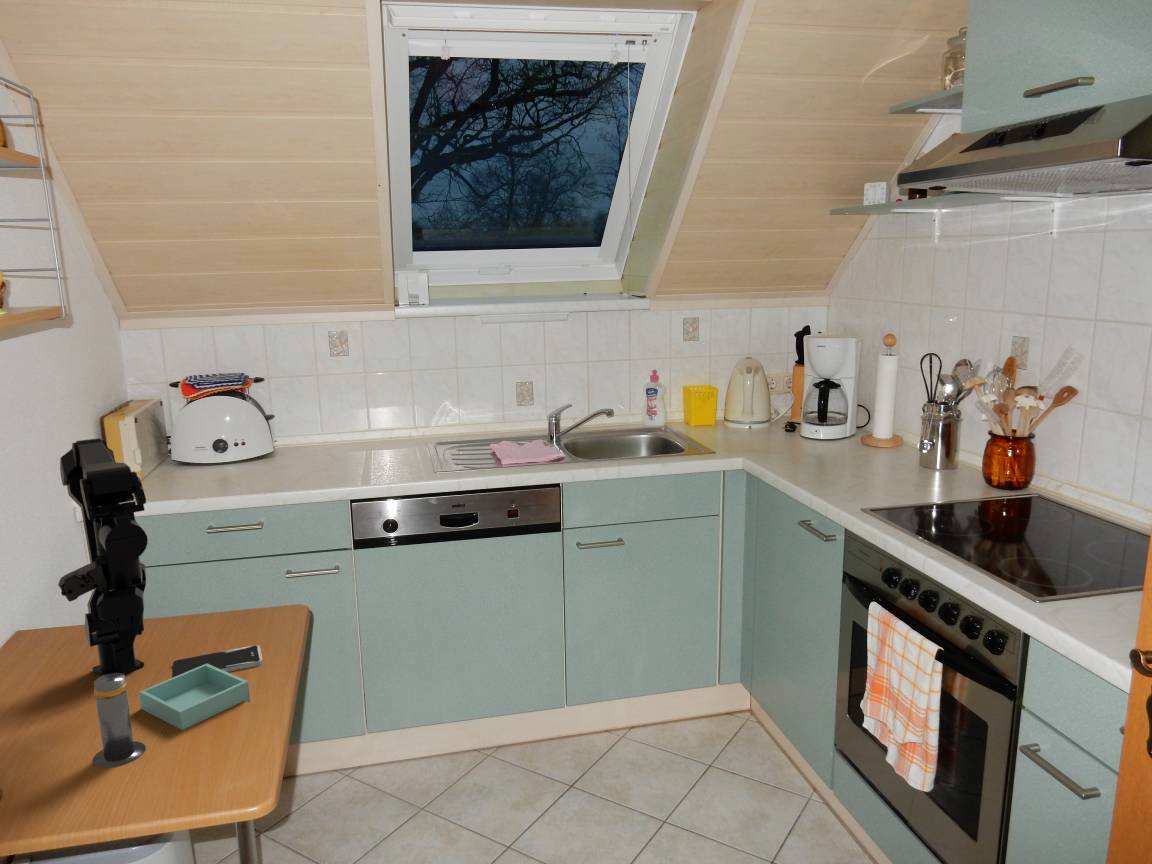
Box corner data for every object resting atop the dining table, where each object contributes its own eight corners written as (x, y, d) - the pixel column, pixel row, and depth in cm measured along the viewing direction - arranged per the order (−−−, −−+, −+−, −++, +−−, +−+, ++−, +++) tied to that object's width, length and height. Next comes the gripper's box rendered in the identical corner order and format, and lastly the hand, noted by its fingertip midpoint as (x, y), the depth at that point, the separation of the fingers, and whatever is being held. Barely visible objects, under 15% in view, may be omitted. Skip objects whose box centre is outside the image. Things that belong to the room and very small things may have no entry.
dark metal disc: (84, 761, 127) (83, 757, 127) (130, 739, 133) (130, 736, 133) (108, 776, 123) (107, 773, 123) (155, 753, 129) (155, 750, 129)
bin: (141, 712, 141) (139, 691, 140) (208, 682, 151) (206, 663, 150) (182, 733, 134) (180, 712, 133) (250, 701, 144) (248, 681, 143)
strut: (97, 756, 127) (87, 681, 125) (126, 743, 131) (116, 670, 128) (112, 765, 125) (102, 689, 123) (140, 751, 128) (131, 677, 126)
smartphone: (173, 660, 158) (259, 644, 164) (173, 667, 158) (260, 650, 164) (172, 678, 151) (262, 660, 157) (173, 685, 151) (263, 667, 157)
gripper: (65, 538, 141) (77, 627, 144) (51, 571, 125) (66, 672, 127) (140, 527, 146) (151, 615, 149) (137, 558, 129) (149, 656, 132)
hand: (129, 638), depth 139 cm, fingers open, 9 cm apart
